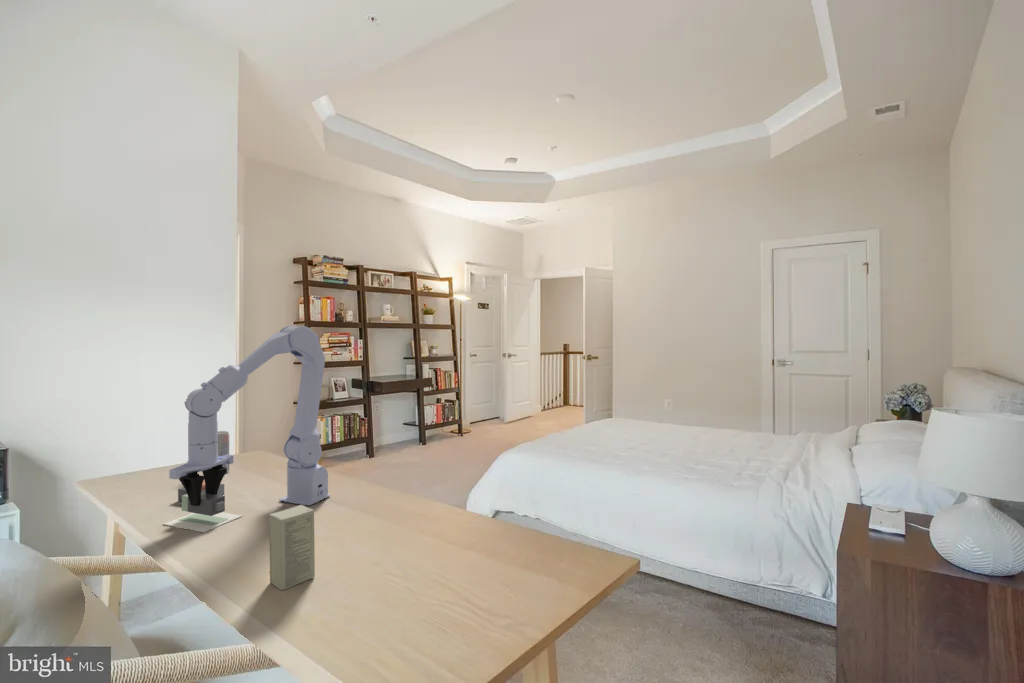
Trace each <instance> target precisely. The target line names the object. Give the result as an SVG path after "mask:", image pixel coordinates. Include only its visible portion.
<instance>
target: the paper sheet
mask: <svg viewBox="0 0 1024 683" xmlns="http://www.w3.org/2000/svg"><path fill="white" fill-rule="evenodd" d="M242 517H243V515H240V514H234V513H228V512H221V513H218V514H216V515H213V516H209V515H203V514H197V513H192V512H191V513H189V514H187V515H184V516H181V517H177V518H176V519H173V520H170V521H166V522H164V523H162V525H164V526H169V527H172V526H173V528H178V527H179V528H178V529H183V528H184V529H185V530H188V529H189V530H190V531H195V532H199V533H206V532H207V531H210V529H211V530H212V529H213V530H214V529H216V528H219V527H220V526H223V525H225V524H227V523H230V522H232V521H235V520H238V519H240V518H242ZM237 518H238V519H237ZM184 529H183V530H184Z"/></svg>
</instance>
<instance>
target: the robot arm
mask: <svg viewBox="0 0 1024 683" xmlns="http://www.w3.org/2000/svg"><path fill="white" fill-rule="evenodd" d="M289 353H290V354H292V355H293V356H294V357H295V358H296V359H297V360H298V361H299V362H300V363H301V364H302V366H301V374H300V381H299V388H298V396H297V401H296V409H295V410H296V411H295V418H294V419H295V420H294V425H293V426H292V428H291V429H290V431H289V435H288V438H287V440H286V441H285V443H284V446H283V453H284V455H285V457H286V458H287V459H288V460H287V463H286V465H287V467H286V468H287V469H286V474H287V475H286V476H287V477H286V479H287V482H286V483H287V484H286V486H287V487H286V488H287V490H286V494H287V495H286V496H283V497H281V498H279V502H282V501H284V502H283V503H289V504H296V505H304V506H311V505H314V504H316V503H318V502H321V501H322V499H323V500H325V499H327V498H329V497H331V496H330V495H331V494H330V493H329V472H328V470H327V468H326V467H324V466H322V465H320V464H319V463H318V462H319V461H320V459H321V457H322V454H323V453H322V452H323V451H322V446H321V442H320V440H321V435H320V433H319V430H318V428H317V425H318V417H319V412H320V411H319V409H320V402H321V395H322V389H323V388H322V387H323V379H324V371H325V365H326V358H325V357H326V356H325V354H324V352H323V350H322V347H321V344H320V337H319V335H318V334H317V333H316V332H315V331H314V330H313V329H311V328H310V327H308V326H304V325H302V326H301V325H300V326H293V325H292V326H291V325H289V326H288V325H286V326H284V327H282V328H281V329H280V330H279V331H278V332H275V333H274V334H272V335H271V336H270V337H269V338H268V339H266V340H265V341H264V342H263V343H262V344H261V345H259V346H258V347H257V348H256V349H254V351H252V352H251V353H250V354H249V355H248V356H246V357H245V358H244V359H243V360H242V361H240V362H239V364H238V365H233V364H231V365H230V364H229V365H227V366H225V367H224V366H221V367H219V369H218V372H219V373H217V374H216V375H214V376H213V377H212V378H211V379H210V380H208V381H206V382H205V381H203V382H202V383H201V384H200V386H201V388H198V389H194V390H192V391H191V392H189V394H188V395H187V398H186V400H185V401H184V406H185V409H186V410H188V423H187V451H188V453H187V454H188V455H187V456H188V458H187V459H188V460H187V461H186V463H184V464H181V465H179V466H177V467H174V468H171V469H170V468H169V473H168V474H169V479H172V480H179V481H180V483H181V485H182V486H183V487H184V488H185V490H186V492H187V494H188V497H189V501H190V504H191V505H192V506H199V505H200V502H201V488H202V484H203V480H205V491H206V493H209V494H215V495H217V492H218V489H219V486H220V484H222V480H223V478H224V477H225V475H226V474H227V473H226V472H227V468H226V467H223V465H225V464H229V465H233V464H234V455H233V454H229V455H223V456H218V432H219V431H218V422H219V421H218V412H219V411H220V410H221V408H222V405H223V404H222V403H224V402H226V401H227V400H229V398H231V397H232V396H233V395H235V394H236V393H237V392H238V391H239V390H240V389H242V388H243V387H244V386H245V385H246V384H247V383H248V379H249V378H248V377H249V375H250V374H252V373H253V372H255V371H256V370H257V369H259V368H260V367H261V366H263V365H264V364H266V363H267V362H269V360H271V359H273V357H275V356H277V355H282V354H289ZM199 472H202V475H200V473H199ZM324 498H325V499H324ZM320 500H321V501H320Z"/></svg>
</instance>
